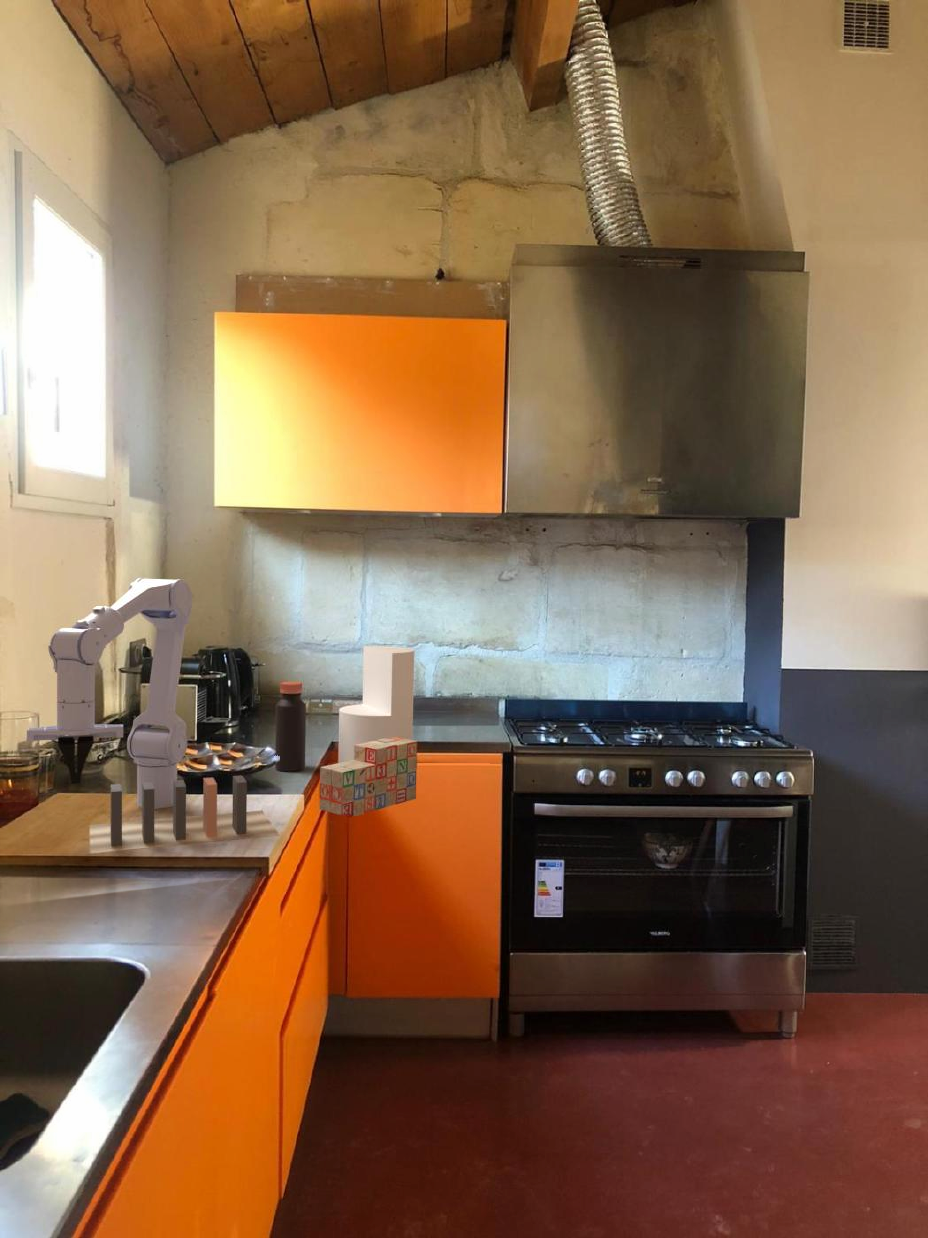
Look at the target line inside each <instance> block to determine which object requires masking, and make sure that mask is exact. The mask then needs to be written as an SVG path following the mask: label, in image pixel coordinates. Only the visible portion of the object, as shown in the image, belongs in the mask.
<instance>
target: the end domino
mask: <svg viewBox="0 0 928 1238" xmlns="http://www.w3.org/2000/svg"><path fill="white" fill-rule="evenodd" d="M247 795H248V782H247V780H246V778H244V776H243V775H233V776H232V813H233V816H232V827H233V828H234V830H235V832H236V834H237V835H238V834H246V820H247V812H248V811H247V807H248V806H247V802H248V801H247V800H248V799H247V798H248V796H247Z"/></svg>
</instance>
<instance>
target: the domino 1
mask: <svg viewBox="0 0 928 1238" xmlns="http://www.w3.org/2000/svg"><path fill="white" fill-rule="evenodd" d="M122 822H123V789H122V784H121V783H117V784H115V783H114V784H110V823H111V847H112V846H122Z"/></svg>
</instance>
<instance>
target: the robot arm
mask: <svg viewBox="0 0 928 1238" xmlns="http://www.w3.org/2000/svg"><path fill="white" fill-rule="evenodd" d="M193 597H194V595H193V592H192V589H191V588H190V585H189V584H188V582H187V581H186V580H185V579H183V578H177V579H165V578H163V579H162V578H160V579H159V578H145V577H139V578H137V579H135V581H133V582H131V583H130V584H129V588H128V591H127V592H126V593H125V594H124V595H123V596H121V597H120V598H119V599H118V600H117V601H116V602H115V603H114V604H112V606H106V605H105V606H100V605H99V606H95V607H93V608H92V612H91V613H89V614H88V615H87V616H86V617H84V618H83V619H79V620H77V621H76V623H75V624H74V625H73V626H71V628H70V627H63V628H60V629H59V630H58V631H57V632H55V633H54V634H53V635H52V636H51V639H50V643H49V644H48V648H47V649H48V653H49V656H50V658H51V659H52V662H53V670H54V673H56V683H57V684H56V700H57V701H56V725H52V726H41V727H28V728H27V729H26V742H27V743H32V742H35V741H36V742H38V741H55V740H57V746H58V749H59V750H60V752H61V754H62V757H63V759H64V761H65V764H66V766H67V768H68V773H69V777H70V784H81V781H82V775H83V774H82V773H83V770H84V767H85V763H86V761H87V758H88V755H90V754H89V753H90V752H91V750H92V747H93V746H94V739H100V738H101V739H104V738H105V739H106V738H116V739H119V738H124V724H100V723H99V724H97V723H95V721H96V720H95V719H96V717H95V715H96V710H95V708H96V701H95V700H96V692H95V691H96V687H95V686H96V663H97V662H99V661H100V660H101V658H102V655H103V652H104V650H105V649H106V648H107V645H108V644H110V643H111V642H112V641H114V640H115V639H116V638H117V637H118V636H119V635H121V634H122V633H123V631H124V629H125V623H126V622H128V621H129V620H131V619H133V618H134V617H136V616H137V615H139V614H140V615H141V616H142V617H143V618H144V620H146V621H147V622H149V623H151V624H152V625H153V626H154V628H155V630H156V633H155V634H156V635H155V641H154V647H153V648H154V649H153V656H152V663H151V664H152V665H151V671H150V672H151V673H150V676H149V677H150V679H149V685H148V686H149V687H148V694H147V703H146V709H145V710H144V711H143V712H142V713H141V714H139V715H138V716H137V717H135V718H134V719H133V723H132V728H131V730H130V733H129V735H128V737H127V742H126V748H127V752H128V755H129V757H131V758H132V759H133V763H134V764H136V765H137V766H136V767H137V768H136V769H137V772H136V773H137V774H136V775H137V777H136V783H137V784H136V789H137V791H136V794H137V795H136V796H137V797H136V799H137V800H136V803H137V807H138V808H141V809H142V782H153V786H154V810H155V809H158V810H159V809H165V808H170V807H173V780H178V763H180V762H181V761H182V760H183V757H184V756H185V754H186V752H187V748H188V739H187V738H188V737H187V723H186V722H185V721H184V720H183V719H182V718H181V717H180V716H179V715H178V714H176V704H177V698H178V689H179V683H180V682H179V681H180V674H181V666H182V658H183V650H184V642H185V636H186V627H187V625H188V624H189V623H190V619H191V613H192V604H193ZM154 726H159V727H160V728H158V727H154ZM161 726H162V727H166V728H161ZM76 751H77V753H76ZM75 754H76V755H75Z"/></svg>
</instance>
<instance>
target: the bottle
mask: <svg viewBox="0 0 928 1238" xmlns="http://www.w3.org/2000/svg"><path fill="white" fill-rule="evenodd" d="M279 687H280V689H279V690H280V691H279V692H280V695H281V699H280V700H279V701H278V702H277V703H276V704H275V749H274V750H275V753H276V756H277V755H278V756H280V761H279V762H278V763H277V764H276V765H275V764H274V767H275V769H276V770H277V771H279V772H288V773H291V772H300V771H302V770H304V769H305V768H306V736H307V735H306V734H307V733H306V732H307V731H306V729H307V728H306V727H307V725H306V724H307V723H306V722H307V721H306V720H307V704H306V703H305V702H304V700H302V699H301V697H302V694H303V682H300V681H283V682H280V686H279ZM275 753H274V754H275Z"/></svg>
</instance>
